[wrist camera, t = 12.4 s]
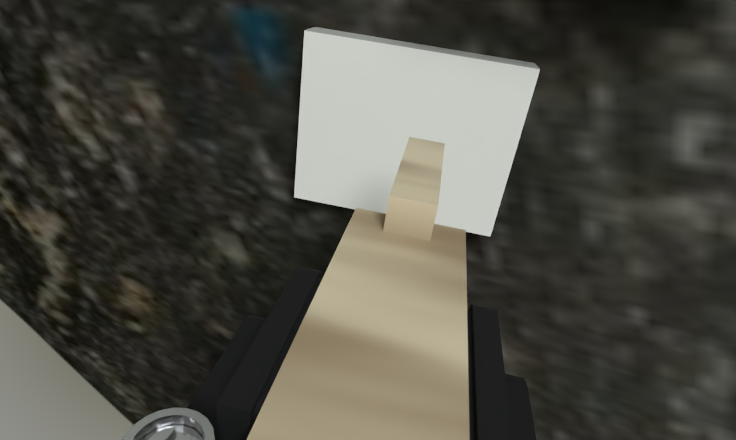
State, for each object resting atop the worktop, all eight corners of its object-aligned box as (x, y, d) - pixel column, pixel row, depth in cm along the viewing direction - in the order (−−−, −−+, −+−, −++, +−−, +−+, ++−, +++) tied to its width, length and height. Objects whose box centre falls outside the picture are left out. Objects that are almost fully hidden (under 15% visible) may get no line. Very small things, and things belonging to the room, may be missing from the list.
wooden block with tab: (440, 272, 18) (393, 912, 6) (363, 256, 18) (156, 832, 6) (471, 148, 16) (511, 777, 3) (383, 131, 16) (106, 651, 3)
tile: (490, 236, 23) (293, 197, 24) (488, 217, 25) (306, 181, 26) (540, 69, 19) (304, 30, 20) (533, 61, 21) (317, 26, 22)
